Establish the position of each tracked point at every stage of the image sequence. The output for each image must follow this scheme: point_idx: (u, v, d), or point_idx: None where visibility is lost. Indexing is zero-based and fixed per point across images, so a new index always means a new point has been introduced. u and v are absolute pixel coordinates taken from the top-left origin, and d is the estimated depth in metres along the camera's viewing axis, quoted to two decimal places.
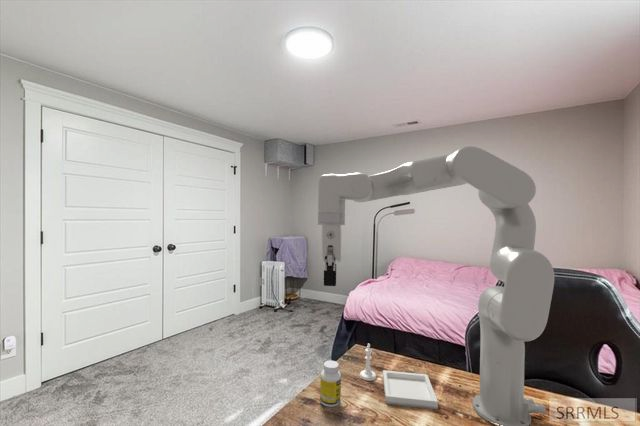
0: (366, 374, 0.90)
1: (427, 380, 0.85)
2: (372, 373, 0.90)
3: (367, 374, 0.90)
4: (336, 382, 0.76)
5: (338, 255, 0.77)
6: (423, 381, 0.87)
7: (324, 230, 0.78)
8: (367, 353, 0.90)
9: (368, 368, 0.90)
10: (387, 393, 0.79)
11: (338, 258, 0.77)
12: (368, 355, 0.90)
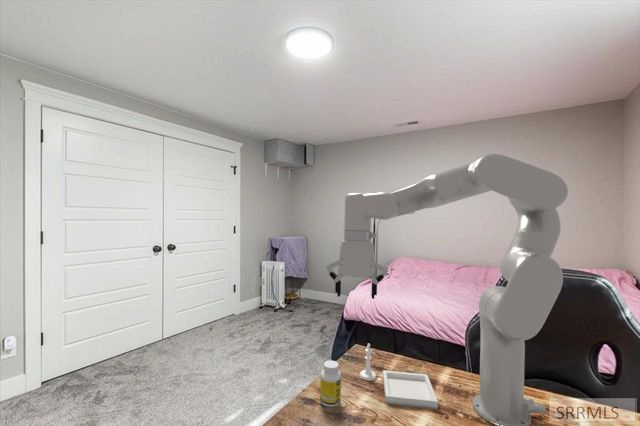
0: (366, 374, 0.90)
1: (427, 380, 0.85)
2: (372, 373, 0.90)
3: (367, 374, 0.90)
4: (336, 382, 0.76)
5: None
6: (423, 381, 0.87)
7: (372, 247, 0.82)
8: (367, 353, 0.90)
9: (368, 368, 0.90)
10: (387, 393, 0.79)
11: None
12: (368, 355, 0.90)
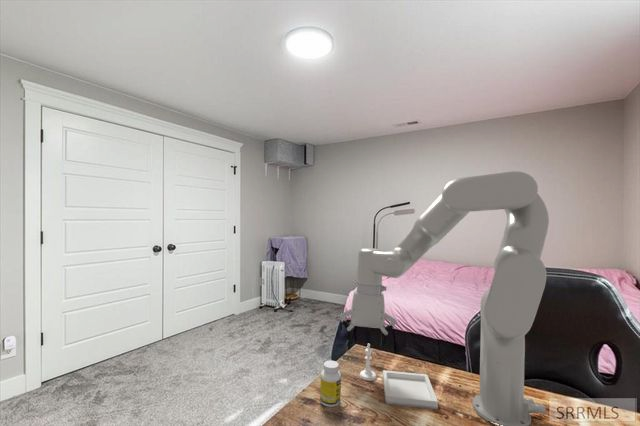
0: (366, 374, 0.90)
1: (427, 380, 0.85)
2: (372, 373, 0.90)
3: (367, 374, 0.90)
4: (336, 382, 0.76)
5: None
6: (423, 381, 0.87)
7: (383, 300, 0.89)
8: (367, 353, 0.90)
9: (368, 368, 0.90)
10: (387, 393, 0.79)
11: None
12: (368, 355, 0.90)
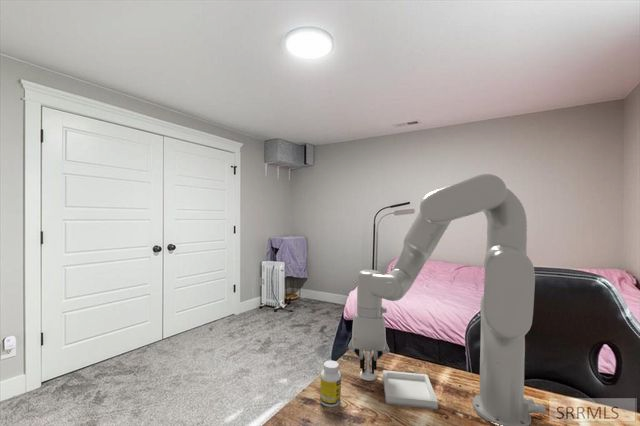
0: (366, 374, 0.90)
1: (427, 380, 0.85)
2: None
3: (367, 374, 0.90)
4: (336, 382, 0.76)
5: None
6: (423, 381, 0.87)
7: (383, 323, 0.88)
8: (367, 353, 0.90)
9: (368, 368, 0.90)
10: (387, 393, 0.79)
11: None
12: (368, 355, 0.90)
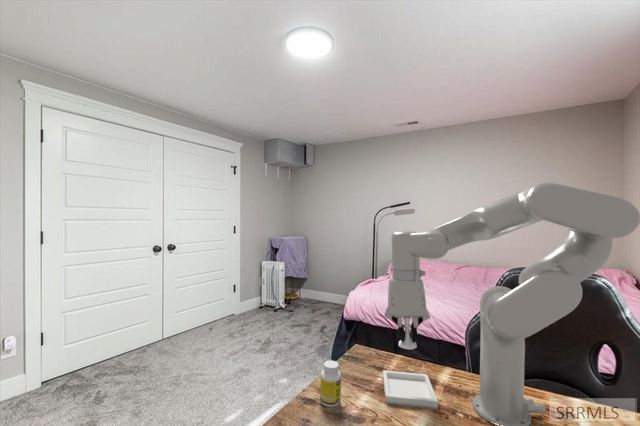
0: (406, 343, 0.82)
1: (427, 380, 0.85)
2: (412, 342, 0.83)
3: (407, 343, 0.82)
4: (336, 382, 0.76)
5: None
6: (423, 381, 0.87)
7: (423, 286, 0.82)
8: (406, 320, 0.83)
9: (408, 336, 0.83)
10: (387, 393, 0.79)
11: None
12: (407, 322, 0.83)
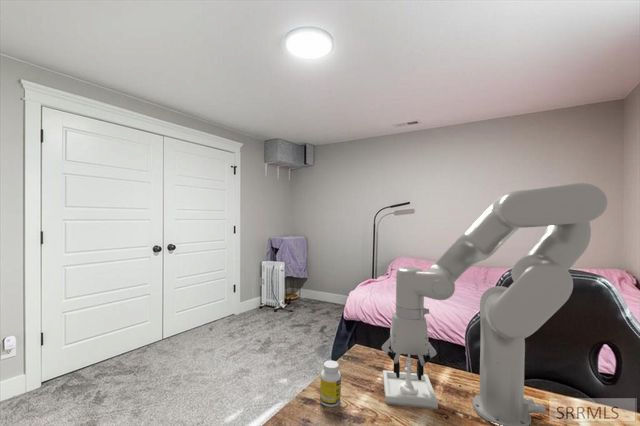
0: (407, 387, 0.82)
1: (427, 380, 0.85)
2: (413, 386, 0.83)
3: (408, 387, 0.82)
4: (336, 382, 0.76)
5: None
6: (423, 381, 0.87)
7: (426, 325, 0.81)
8: (408, 364, 0.82)
9: (409, 381, 0.82)
10: (387, 393, 0.79)
11: None
12: (409, 366, 0.83)
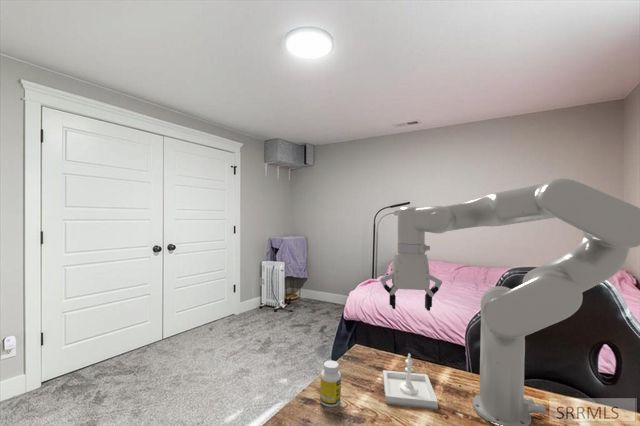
0: (407, 387, 0.82)
1: (427, 380, 0.85)
2: (413, 386, 0.83)
3: (408, 387, 0.82)
4: (336, 382, 0.76)
5: None
6: (423, 381, 0.87)
7: (427, 260, 0.84)
8: (408, 364, 0.82)
9: (409, 381, 0.82)
10: (387, 393, 0.79)
11: None
12: (409, 367, 0.83)
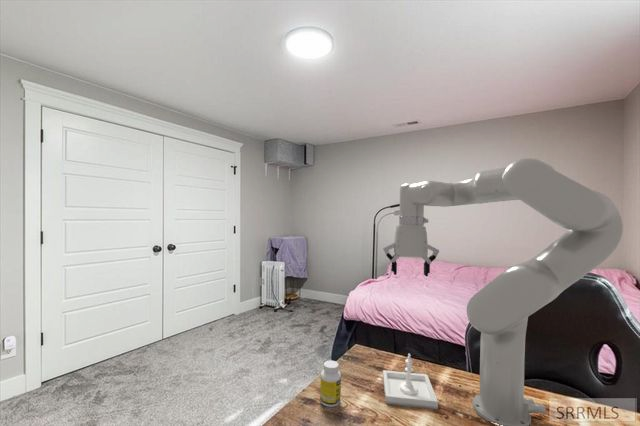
0: (407, 387, 0.82)
1: (427, 380, 0.85)
2: (413, 386, 0.83)
3: (408, 387, 0.82)
4: (336, 382, 0.76)
5: None
6: (423, 381, 0.87)
7: (425, 231, 0.93)
8: (408, 364, 0.82)
9: (409, 381, 0.82)
10: (387, 393, 0.79)
11: None
12: (409, 367, 0.83)
